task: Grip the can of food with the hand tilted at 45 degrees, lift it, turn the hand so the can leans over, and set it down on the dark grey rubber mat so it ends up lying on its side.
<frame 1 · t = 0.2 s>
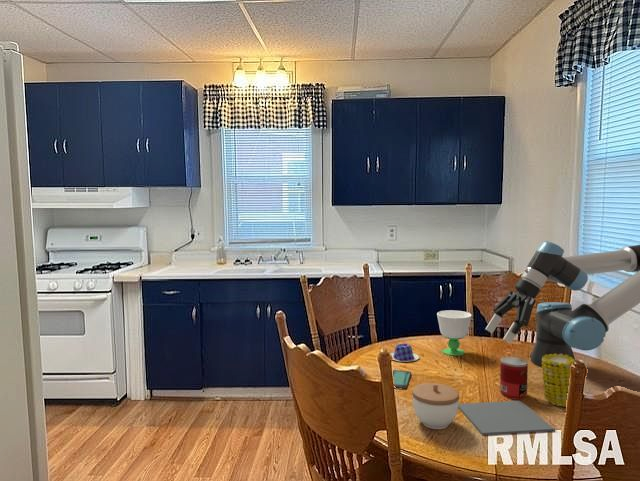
hand: (497, 336, 159), 15 cm above the table, tool tilted 35°, fingers open, 13 cm apart
cup: (453, 352, 191), on the table
canned food: (513, 395, 148), on the table
smartphone: (398, 381, 161), on the table
food: (559, 402, 142), on the table
lidded bowl: (435, 423, 130), on the table
rubber mat: (502, 417, 132), on the table
pudding: (403, 358, 185), on the table
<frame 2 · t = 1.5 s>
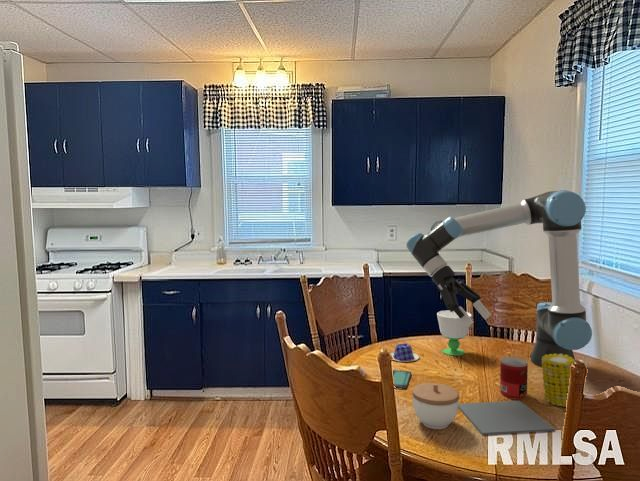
hand: (479, 321, 154), 22 cm above the table, tool tilted 45°, fingers open, 13 cm apart
nothing on the table moved.
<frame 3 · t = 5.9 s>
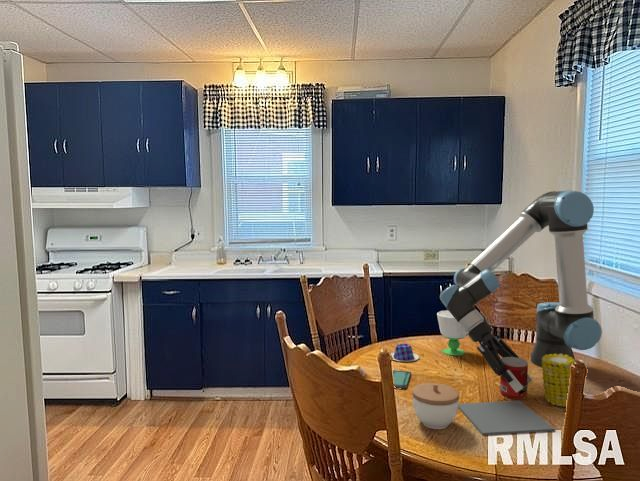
hand: (524, 386, 146), 4 cm above the table, tool tilted 45°, fingers closed on canned food, 8 cm apart
canned food: (513, 395, 148), on the table, touching gripper
everything else where it was.
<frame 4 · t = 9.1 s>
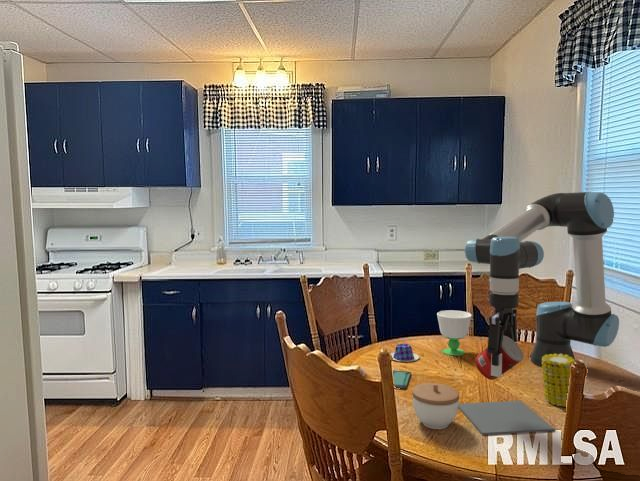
hand: (502, 372, 132), 13 cm above the table, tool pointing down, fingers closed on canned food, 8 cm apart
canned food: (484, 368, 135), point 13 cm above the table, touching gripper
everything else where it was.
when the fingers open (6 cm above the table, at t = 11.3 s): canned food moves 3 cm, resting on rubber mat.
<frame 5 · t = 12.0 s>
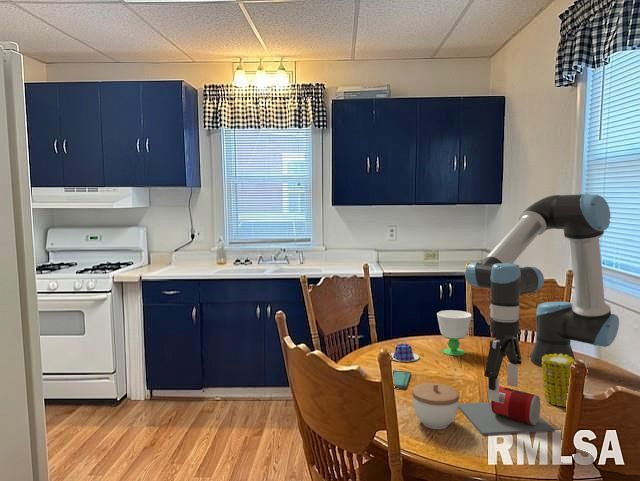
hand: (503, 393, 132), 7 cm above the table, tool pointing down, fingers open, 13 cm apart
canned food: (495, 399, 134), point 5 cm above the table, touching rubber mat
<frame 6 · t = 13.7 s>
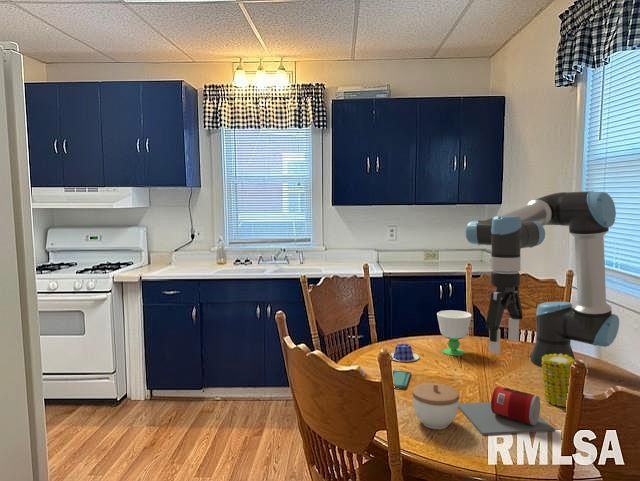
hand: (504, 346, 131), 21 cm above the table, tool pointing down, fingers open, 13 cm apart
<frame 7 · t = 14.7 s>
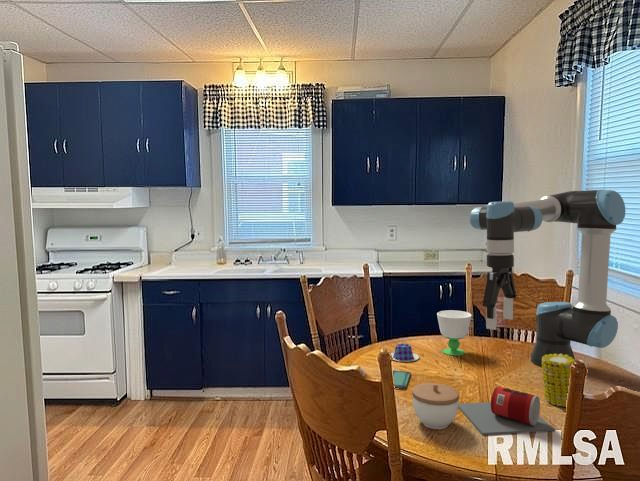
hand: (500, 323, 140), 25 cm above the table, tool pointing down, fingers open, 13 cm apart
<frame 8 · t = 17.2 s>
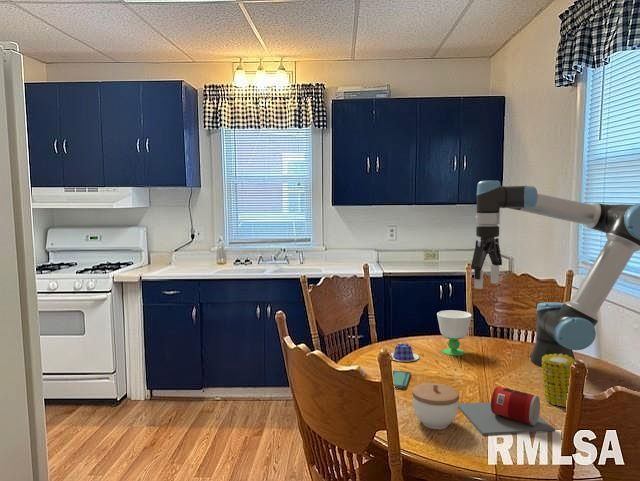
hand: (486, 286, 163), 32 cm above the table, tool pointing down, fingers open, 13 cm apart
at the end: canned food tilted 90°; canned food inside the target area (1.6 cm from its centre), point 4.6 cm above the table; the gripper is holding nothing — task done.
